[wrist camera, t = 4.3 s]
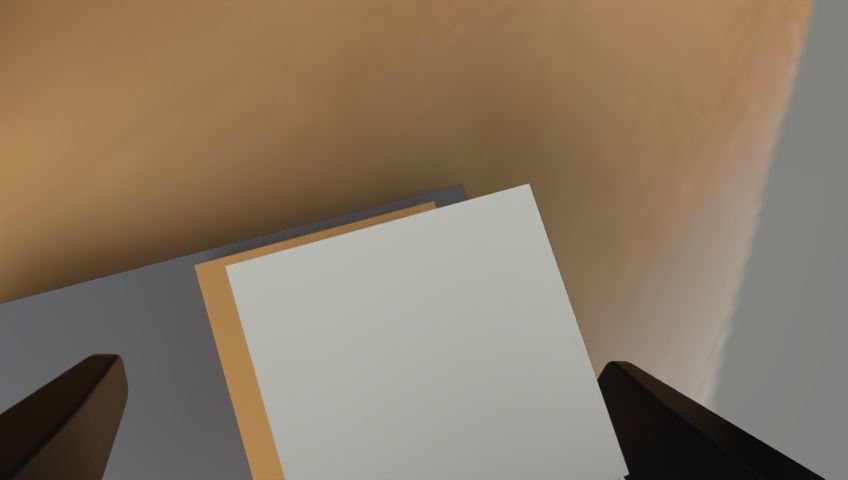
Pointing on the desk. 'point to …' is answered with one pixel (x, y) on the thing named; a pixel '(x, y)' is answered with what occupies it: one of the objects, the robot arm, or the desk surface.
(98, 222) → the desk surface
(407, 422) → the white and tan block
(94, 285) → the gray slab with hole
